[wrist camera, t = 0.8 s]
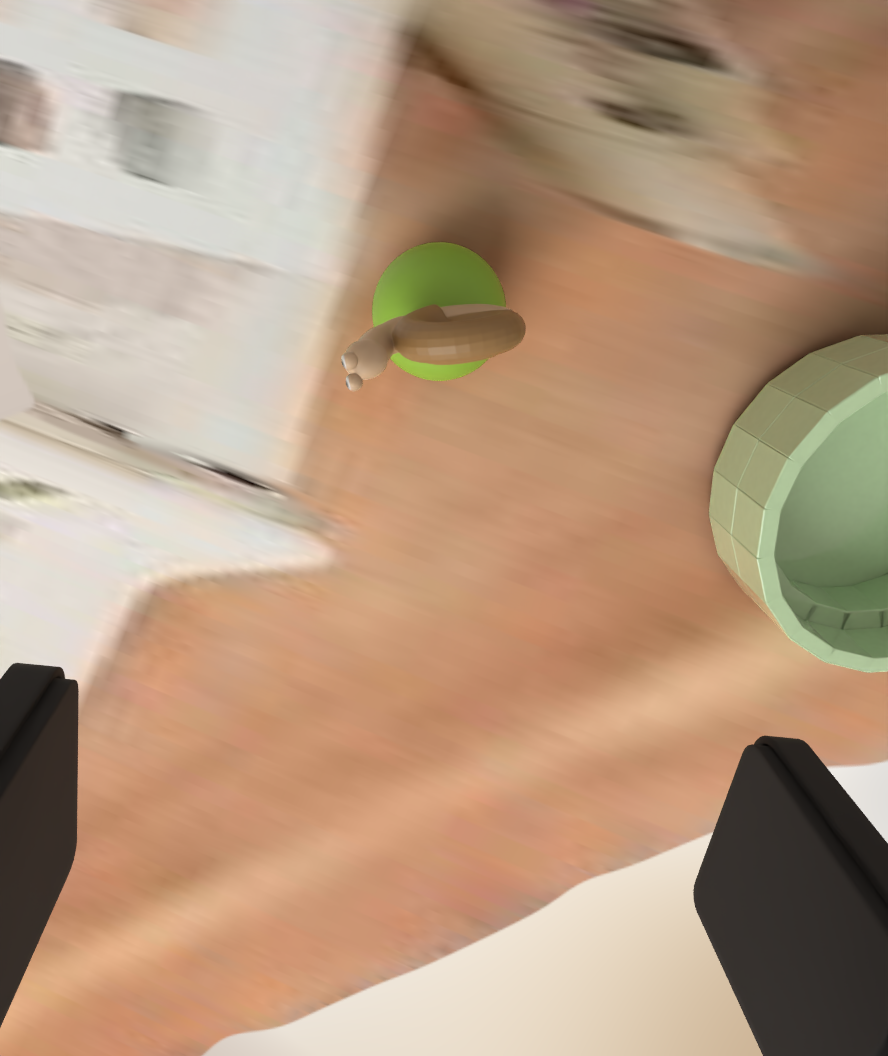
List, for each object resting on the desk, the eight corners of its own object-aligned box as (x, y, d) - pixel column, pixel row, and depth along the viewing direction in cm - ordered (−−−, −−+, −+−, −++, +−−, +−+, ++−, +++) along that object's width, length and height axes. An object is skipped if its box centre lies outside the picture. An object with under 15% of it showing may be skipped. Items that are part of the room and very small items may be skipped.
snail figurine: (337, 254, 34) (322, 282, 23) (487, 228, 34) (542, 244, 23) (362, 380, 36) (359, 460, 25) (503, 355, 36) (561, 424, 25)
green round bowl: (723, 336, 37) (785, 361, 31) (1023, 327, 38) (1135, 349, 33) (691, 618, 43) (739, 681, 37) (954, 603, 44) (1039, 662, 38)
